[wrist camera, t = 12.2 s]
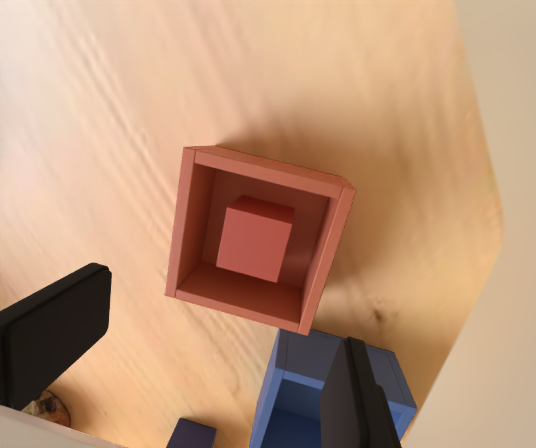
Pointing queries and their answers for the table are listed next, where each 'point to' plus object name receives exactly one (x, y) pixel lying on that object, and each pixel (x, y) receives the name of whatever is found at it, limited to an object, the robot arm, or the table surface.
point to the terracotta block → (255, 237)
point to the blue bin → (316, 390)
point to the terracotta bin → (298, 247)
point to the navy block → (191, 435)
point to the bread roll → (48, 409)
